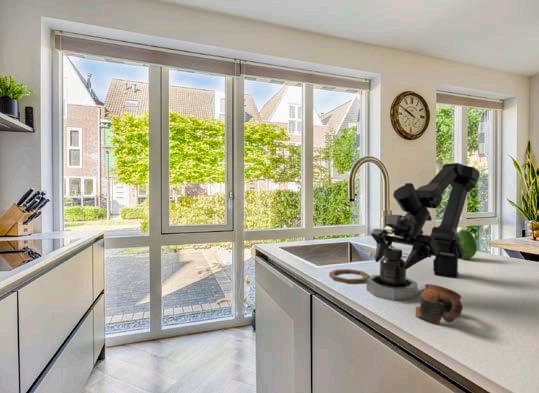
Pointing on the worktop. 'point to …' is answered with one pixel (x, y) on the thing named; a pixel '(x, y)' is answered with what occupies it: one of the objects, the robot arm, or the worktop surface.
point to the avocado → (467, 244)
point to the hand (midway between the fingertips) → (389, 264)
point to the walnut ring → (345, 280)
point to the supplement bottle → (392, 268)
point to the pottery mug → (434, 309)
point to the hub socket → (391, 289)
